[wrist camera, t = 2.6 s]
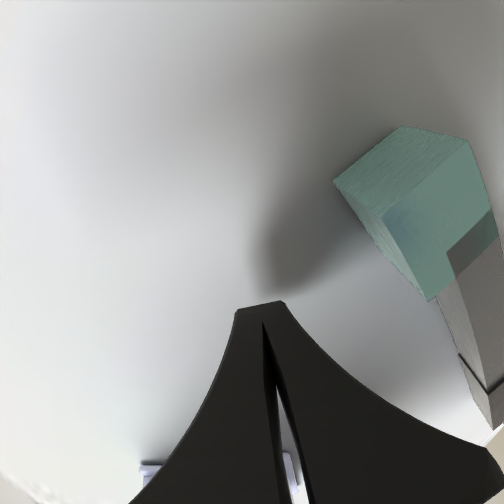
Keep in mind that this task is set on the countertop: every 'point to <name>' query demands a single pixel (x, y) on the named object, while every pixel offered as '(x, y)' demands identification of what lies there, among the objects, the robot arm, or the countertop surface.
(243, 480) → the robot arm
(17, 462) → the countertop surface
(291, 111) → the countertop surface
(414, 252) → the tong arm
